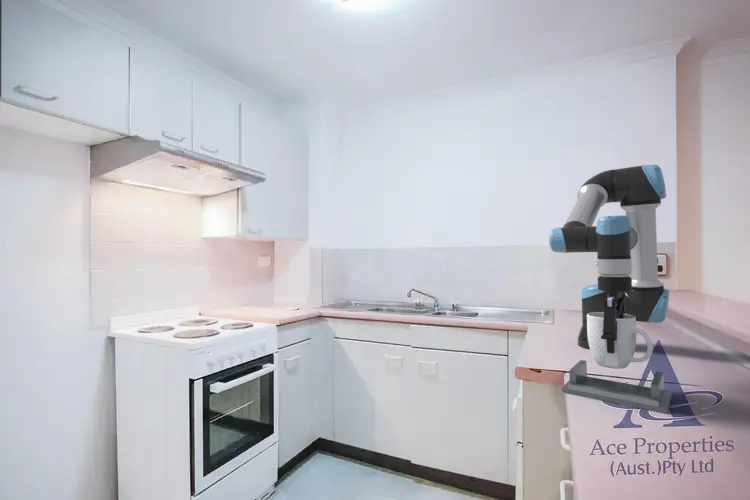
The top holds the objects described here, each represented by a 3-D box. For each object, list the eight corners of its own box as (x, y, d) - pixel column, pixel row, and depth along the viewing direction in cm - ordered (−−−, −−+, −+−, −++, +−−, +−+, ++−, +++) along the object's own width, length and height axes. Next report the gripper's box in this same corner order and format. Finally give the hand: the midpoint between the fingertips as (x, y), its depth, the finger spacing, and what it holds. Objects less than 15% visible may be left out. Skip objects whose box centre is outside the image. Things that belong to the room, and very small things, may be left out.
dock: (575, 378, 112) (574, 359, 112) (671, 396, 98) (671, 373, 98) (562, 392, 102) (561, 370, 102) (666, 413, 88) (666, 388, 88)
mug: (662, 370, 97) (661, 317, 97) (642, 378, 91) (641, 322, 91) (600, 357, 110) (599, 310, 110) (579, 364, 103) (578, 314, 103)
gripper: (606, 272, 112) (608, 348, 113) (587, 278, 95) (589, 368, 95) (638, 273, 108) (639, 352, 108) (623, 279, 90) (625, 374, 90)
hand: (616, 360), depth 101 cm, fingers closed on mug, 11 cm apart
